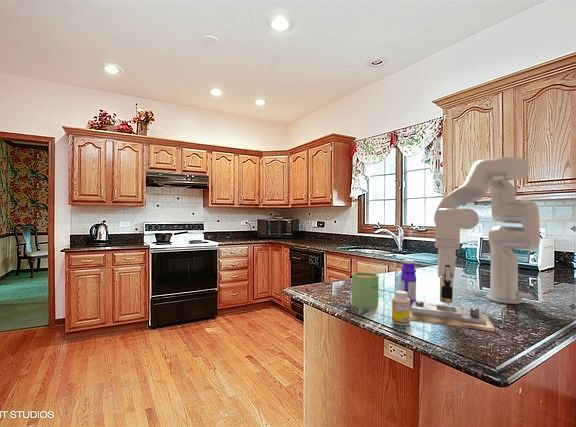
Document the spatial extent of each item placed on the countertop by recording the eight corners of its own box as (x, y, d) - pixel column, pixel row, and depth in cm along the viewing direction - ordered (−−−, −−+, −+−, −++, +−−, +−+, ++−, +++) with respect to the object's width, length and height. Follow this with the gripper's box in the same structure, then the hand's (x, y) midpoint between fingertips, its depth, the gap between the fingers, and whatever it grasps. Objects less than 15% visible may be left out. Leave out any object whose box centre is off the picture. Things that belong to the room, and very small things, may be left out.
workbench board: (486, 317, 107) (486, 315, 107) (494, 331, 95) (494, 328, 95) (407, 307, 118) (407, 305, 118) (405, 318, 105) (405, 315, 105)
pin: (452, 300, 107) (452, 277, 107) (453, 303, 104) (453, 279, 104) (439, 299, 109) (439, 276, 109) (440, 302, 105) (440, 278, 105)
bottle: (417, 305, 121) (418, 261, 121) (402, 304, 122) (403, 260, 122) (413, 300, 128) (414, 258, 128) (399, 299, 130) (400, 258, 130)
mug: (374, 311, 113) (375, 278, 113) (347, 306, 119) (348, 275, 119) (383, 303, 124) (384, 273, 124) (358, 298, 130) (359, 270, 130)
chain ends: (481, 316, 106) (481, 306, 106) (485, 324, 98) (486, 314, 98) (412, 307, 115) (412, 298, 115) (411, 314, 107) (411, 304, 107)
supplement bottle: (395, 318, 105) (396, 289, 105) (412, 322, 101) (412, 291, 101) (389, 323, 101) (389, 291, 101) (406, 327, 97) (406, 295, 97)
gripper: (434, 241, 116) (433, 290, 116) (436, 245, 100) (435, 301, 100) (457, 242, 113) (456, 292, 112) (462, 246, 97) (461, 304, 97)
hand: (446, 296), depth 106 cm, fingers closed on pin, 4 cm apart
